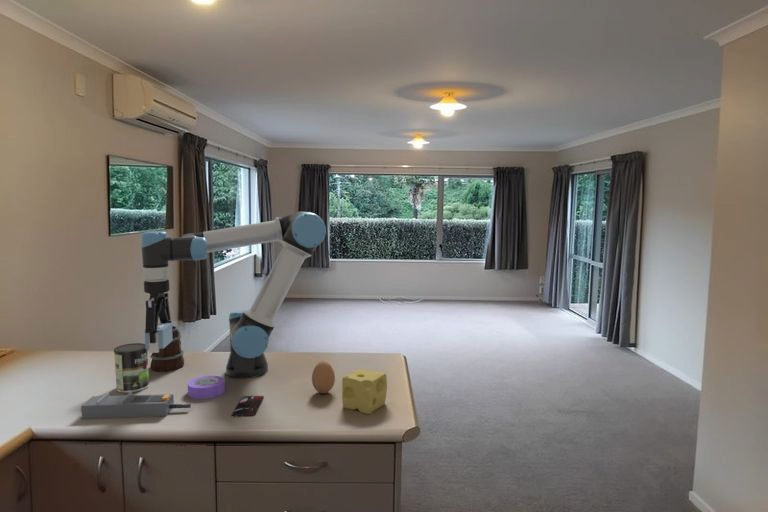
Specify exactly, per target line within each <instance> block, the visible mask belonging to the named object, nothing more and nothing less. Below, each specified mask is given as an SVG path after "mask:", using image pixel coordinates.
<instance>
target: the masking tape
mask: <svg viewBox="0 0 768 512" xmlns="http://www.w3.org/2000/svg"><path fill="white" fill-rule="evenodd" d="M225 383H226V382H225V378H224V377H222V376H219V375H205V376H198V377H196V378H193V379H191V380H189V381H188V382H187V396H188V397H190V398H193V399H197V400H199V399H200V400H203V399H204V400H205V399H211V398H215V397H219V396H221V395H222V394H223V393H225V391H226V388H225V386H226V385H225Z"/></svg>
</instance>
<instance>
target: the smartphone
mask: <svg viewBox="0 0 768 512" xmlns="http://www.w3.org/2000/svg"><path fill="white" fill-rule="evenodd" d="M264 398H265V397H264V395H243V396H241V397H240V399H239V401H238V403H237V404H236V406H235V408H234V410H233V412H232V413H231V415H230V416H231V417H232V416H233V418H235V417H239V418H241V417H246V418H247V417H249V418H250V417H251V418H253V417H255V416H256V415H257V413H258V411H259V409H260V406H261V405H262V403H263V401H264Z"/></svg>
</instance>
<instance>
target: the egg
mask: <svg viewBox="0 0 768 512" xmlns="http://www.w3.org/2000/svg"><path fill="white" fill-rule="evenodd" d="M335 382H336V376H335V370H334V368H333V366H332V365H331V364H330V362H328V361H325V360H322V361H319V362H317V364H315V367H314V369H313V370H312V374H311V384H312V386H313V388H314V389H315V391H317V392H318V393H320V394H326V393H328V392H329V393H330V391H331V390H332V389H333V387H334V386H335V385H334V384H335Z"/></svg>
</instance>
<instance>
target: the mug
mask: <svg viewBox="0 0 768 512" xmlns="http://www.w3.org/2000/svg"><path fill="white" fill-rule="evenodd" d="M172 336H173V341H172V342H170V343H169V344H168V345H167V346H166V347H165V348H164V349H159V353H150V359H151V361H150V364H149V365H150V367H149V368H150V370H153V371H155V372H170V371H175V370H179V369H181V368H183V367H184V366H185V358H184V356H183V355H184V353H185V352H184V350H183V349H182V347H181V344H182V340H181V338H182V335H181V332H180V330H179V329H178V326H176V325H175V326H174V325H172Z"/></svg>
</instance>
